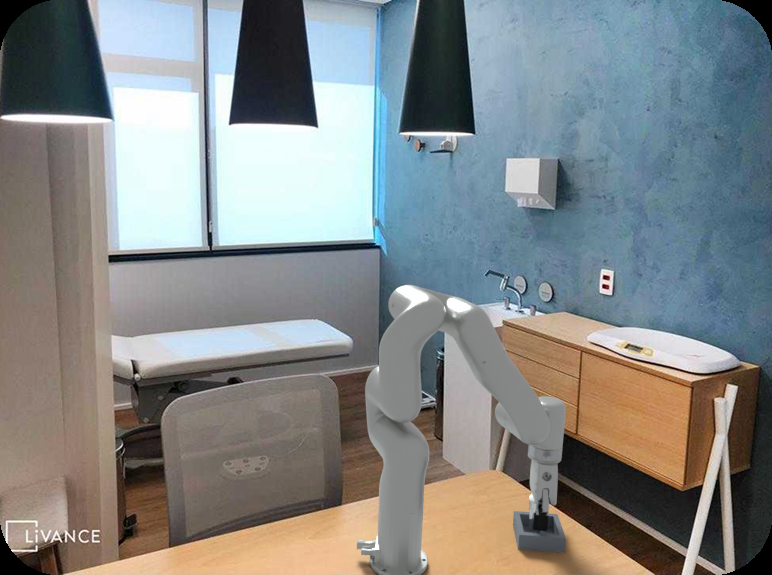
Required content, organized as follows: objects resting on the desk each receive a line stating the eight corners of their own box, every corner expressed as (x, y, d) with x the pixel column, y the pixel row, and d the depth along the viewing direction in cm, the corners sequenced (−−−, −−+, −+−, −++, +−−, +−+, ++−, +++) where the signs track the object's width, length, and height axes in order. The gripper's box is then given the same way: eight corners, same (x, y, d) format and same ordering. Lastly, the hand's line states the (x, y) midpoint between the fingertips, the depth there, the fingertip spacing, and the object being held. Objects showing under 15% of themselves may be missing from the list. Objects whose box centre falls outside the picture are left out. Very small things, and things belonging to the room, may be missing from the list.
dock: (518, 549, 149) (519, 534, 149) (512, 524, 160) (513, 511, 159) (564, 552, 149) (565, 538, 148) (556, 527, 159) (557, 514, 158)
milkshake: (551, 536, 151) (555, 496, 150) (528, 535, 152) (531, 495, 150) (547, 526, 156) (550, 487, 154) (524, 524, 156) (527, 485, 154)
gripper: (568, 468, 142) (561, 546, 145) (555, 437, 158) (548, 507, 161) (533, 466, 142) (526, 543, 145) (523, 435, 158) (517, 505, 162)
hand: (538, 523), depth 153 cm, fingers closed on milkshake, 4 cm apart
